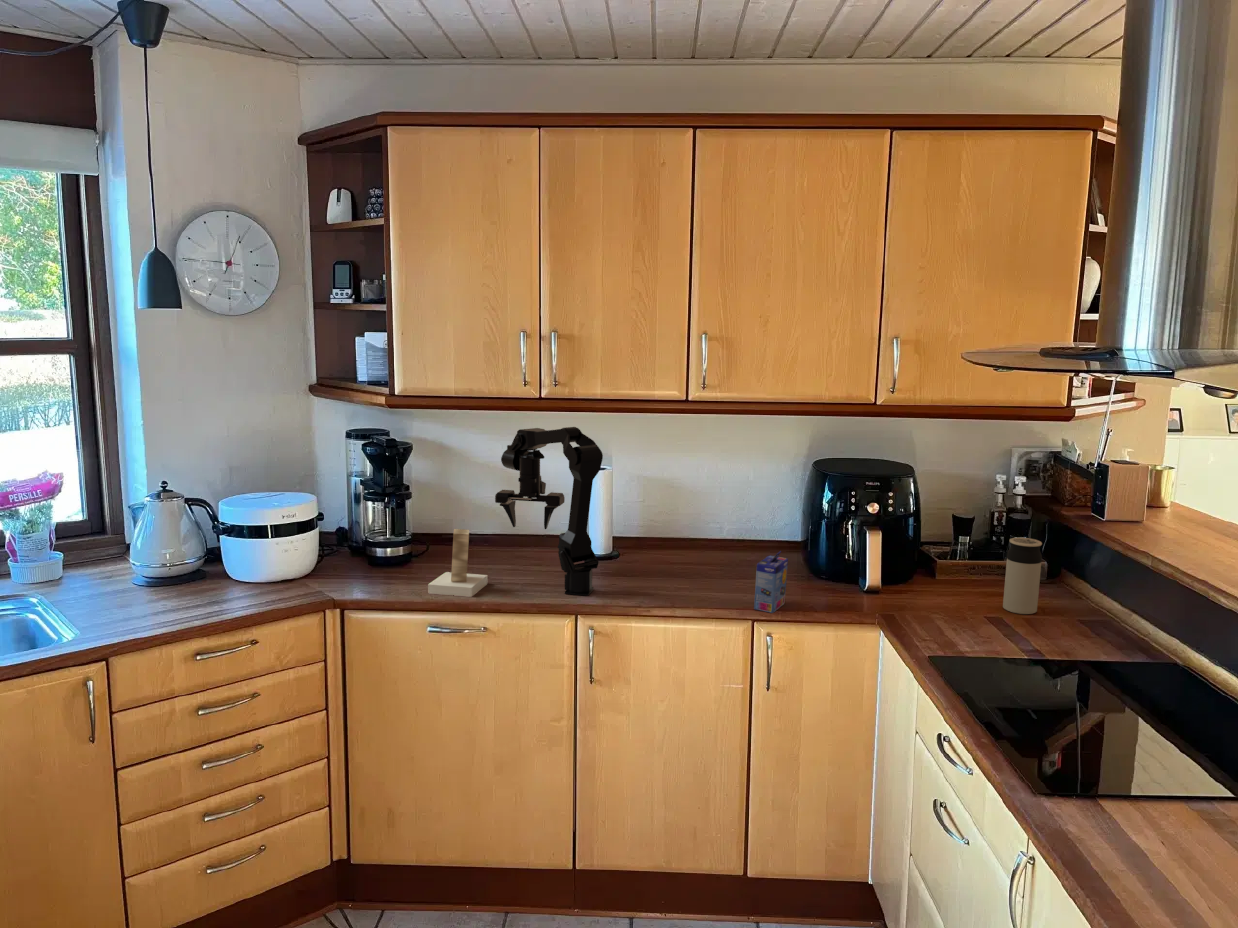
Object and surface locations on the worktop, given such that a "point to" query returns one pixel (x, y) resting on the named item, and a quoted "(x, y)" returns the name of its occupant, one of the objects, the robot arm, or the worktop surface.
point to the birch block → (460, 555)
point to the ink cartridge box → (770, 583)
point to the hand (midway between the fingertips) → (529, 527)
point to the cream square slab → (457, 585)
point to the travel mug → (1022, 576)
